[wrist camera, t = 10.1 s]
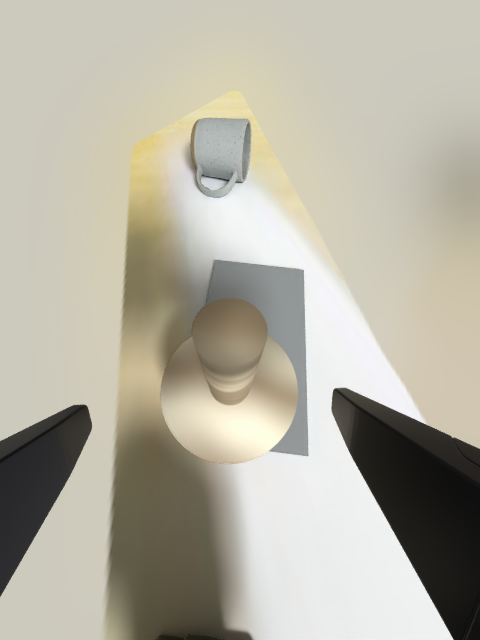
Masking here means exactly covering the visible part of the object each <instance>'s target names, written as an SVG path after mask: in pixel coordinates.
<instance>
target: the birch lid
mask: <svg viewBox="0 0 480 640" xmlns="http://www.w3.org/2000/svg"><path fill="white" fill-rule="evenodd" d="M160 397H161V407H162V411H163V415H164V418H165V421H166V423H167V425H168V427H169V429H170V431H171V433H172V434H173V435H174V437H175V438H176V439H177V441H178V442H179V443H180V444H181V445H182V446H183V447H184V448H186V449H187V450H188V451H190V452H191V453H192V454H194V455H196V456H198V457H200V458H202V459H205V460H208V461H211V462H215V463H221V464H235V463H242V462H246V461H249V460H253V459H255V458H257V457H259V456H261V455H263V454H264V453H266V452H267V451H269V450H270V449H272V448H273V447H274V446H275V445H276V444H277V443H278V442H279V441H280V440H281V439H282V437H283V436H284V435H285V433H286V432H287V430H288V429H289V427H290V425H291V423H292V420H293V418H294V415H295V412H296V408H297V401H298V385H297V379H296V374H295V371H294V368H293V366H292V363H291V361H290V359H289V358H288V356H287V354H286V353H285V352H284V350H283V349H282V348H281V347H280V346H279V344H278V343H277V342H275V341H274V340H273V339H272V338H271V337H269V336H268V328H267V323H266V320H265V318H264V316H263V315H262V313H261V312H260V311H259V310H258V309H257V308H256V307H255V306H254V305H252V304H251V303H249V302H247V301H244V300H241V299H237V298H223V299H219V300H215V301H213V302H211V303H209V304H207V305H206V306H205V307H203V308H202V309H201V310H200V312H199V313H198V314H197V316H196V317H195V320H194V322H193V326H192V336H191V337H189V338H188V339H187V340H186V341H184V342H183V343H182V344H181V345H180V346H179V347H178V349H177V350H176V351H175V352H174V354H173V355H172V357H171V359H170V360H169V362H168V364H167V366H166V369H165V371H164V375H163V378H162V383H161V395H160Z"/></svg>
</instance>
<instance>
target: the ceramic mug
mask: <svg viewBox="0 0 480 640" xmlns="http://www.w3.org/2000/svg"><path fill="white" fill-rule="evenodd" d="M250 153H251V124H250V121H249V120H248V119H225V118H204V119H199V120H197V121H196V122H195V124H194V126H193V129H192V133H191V155H192V161H193V164H194V167H195V169H196V170H197V172H196V173H197V174H196V177H197V182H198V185H199V188H200V190H201V191H202V192H203V193H204V194H205V195H207V196H209V197H214V198H218V197H222V196H225V195H226V194H228V193H229V192H230V191H231V189H232V188H233V186H234V184H235V182H236V181H237V182H244V181H245V179H246V177H247V174H248V168H249V163H250ZM202 174H203V175H205V176H210V177H217V178H222V179H227V180H229V182H228V183H227V184H226V185H225V186H224V187H222V188H220V189H218V190H209V189H208V188H206V187H204V185H203V184H201V176H202Z"/></svg>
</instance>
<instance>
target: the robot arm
mask: <svg viewBox="0 0 480 640" xmlns="http://www.w3.org/2000/svg"><path fill="white" fill-rule="evenodd" d="M332 413H333V416H334V418H335V420H336V423H337V425H338V427H339V430H340V432H341V434H342V437H343V439H344V441H345V443H346V446H347V448H348V450H349V452H350V454H351V456H352V458H353V460H354V462H355V463H356V465H357V467H358V469H359V471H360V472H361V474H362V476H363V478H364V480H365V481H366V483H367V485H368V487H369V489H370V490H371V492H372V494H373V496H374V498H375V499H376V501H377V503H378V505H379V507H380V508H381V510H382V512H383V514H384V516H385V517H386V519H387V521H388V523H389V524H390V526H391V528H392V530H393V532H394V533H395V535H396V537H397V539H398V541H399V542H400V544H401V546H402V548H403V550H404V551H405V553H406V555H407V557H408V559H409V560H410V562H411V564H412V566H413V568H414V569H415V571H416V573H417V575H418V577H419V578H420V580H421V582H422V584H423V585H424V587H425V589H426V591H427V593H428V594H429V596H430V598H431V600H432V602H433V603H434V605H435V607H436V609H437V611H438V612H439V614H440V616H441V618H442V620H443V621H444V623H445V625H446V627H447V629H448V630H449V632H450V634H451V636H452V638H453V639H454V640H480V449H479V448H476V447H474V446H472V445H470V444H467V443H465V442H463V441H461V440H459V439H457V438H452V437H451V436H450V435H448V434H445V433H443V432H441V431H439V430H437V429H435V428H432V427H430V426H428V425H426V424H424V423H421V422H419V421H417V420H415V419H413V418H410V417H408V416H406V415H404V414H402V413H399V412H397V411H395V410H393V409H391V408H389V407H386V406H384V405H382V404H380V403H378V402H375V401H373V400H371V399H369V398H367V397H364V396H362V395H360V394H358V393H356V392H354V391H351V390H349V389H347V388H335V389H334V390H333V397H332ZM91 429H92V422H91V418H90V414H89V410H88V407H87V406H86V405H73V406H71V407H69V408H67V409H65V410H63V411H61V412H58V413H57V414H54V415H52V416H50V417H48V418H46V419H44V420H42V421H40V422H38V423H36V424H34V425H32V426H30V427H28V428H26V429H24V430H22V431H20V432H18V433H16V434H14V435H12V436H10V437H8V438H6V439H4V440H2V441H0V596H1V594H2V593H3V591H4V589H5V588H6V586H7V584H8V583H9V581H10V579H11V577H12V575H13V574H14V572H15V570H16V569H17V567H18V565H19V563H20V562H21V560H22V558H23V556H24V555H25V553H26V551H27V550H28V548H29V546H30V544H31V543H32V541H33V539H34V537H35V536H36V534H37V532H38V531H39V529H40V527H41V525H42V524H43V522H44V520H45V518H46V517H47V515H48V513H49V511H50V510H51V508H52V506H53V504H54V503H55V501H56V499H57V498H58V496H59V494H60V492H61V491H62V489H63V487H64V486H65V483H66V482H67V480H68V478H69V477H70V474H71V473H72V471H73V469H74V467H75V464H76V462H77V460H78V458H79V456H80V454H81V451H82V449H83V447H84V445H85V443H86V441H87V439H88V436H89V434H90V432H91ZM156 640H224V639H217V638H211V637H204V636H197V635H190V634H188V635H187V636H186V637H185V638H178V637H171V636H165V635H162V636H159V637H158V638H157V639H156Z"/></svg>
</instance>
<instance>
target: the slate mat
mask: <svg viewBox="0 0 480 640" xmlns="http://www.w3.org/2000/svg"><path fill="white" fill-rule="evenodd" d="M223 298H237V299H241V300H244V301H247V302H249V303H251V304H252V305H254V306H255V307H256V308H257V309H258V310H259V311H260V312H261V313H262V315H263V316H264V318H265V320H266V323H267V328H268V336H269V337H271V338H272V339H273V340H274V341H275V342H277V343H278V344H279V346H280V347H281V348H282V349H283V350H284V352H285V353H286V354H287V356H288V358H289V359H290V361H291V363H292V366H293V368H294V371H295V374H296V379H297V385H298V401H297V408H296V412H295V415H294V418H293V420H292V423H291V425H290V427H289V429H288V430H287V432H286V433H285V435H284V436H283V437H282V439H281V440H280V441H279V442H278V443H277V444H276V445H275V446H274V447H273V448H272V449H270V450H269V451H272V452H280V453H287V454H295V455H303V456H308V423H307V384H306V345H305V305H304V270H300V269H291V268H282V267H273V266H264V265H255V264H246V263H237V262H228V261H219V260H215V264H214V269H213V273H212V278H211V282H210V287H209V292H208V296H207V301H206V305H207V304H209V303H211V302H213V301H215V300H219V299H223ZM206 305H205V306H206Z"/></svg>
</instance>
